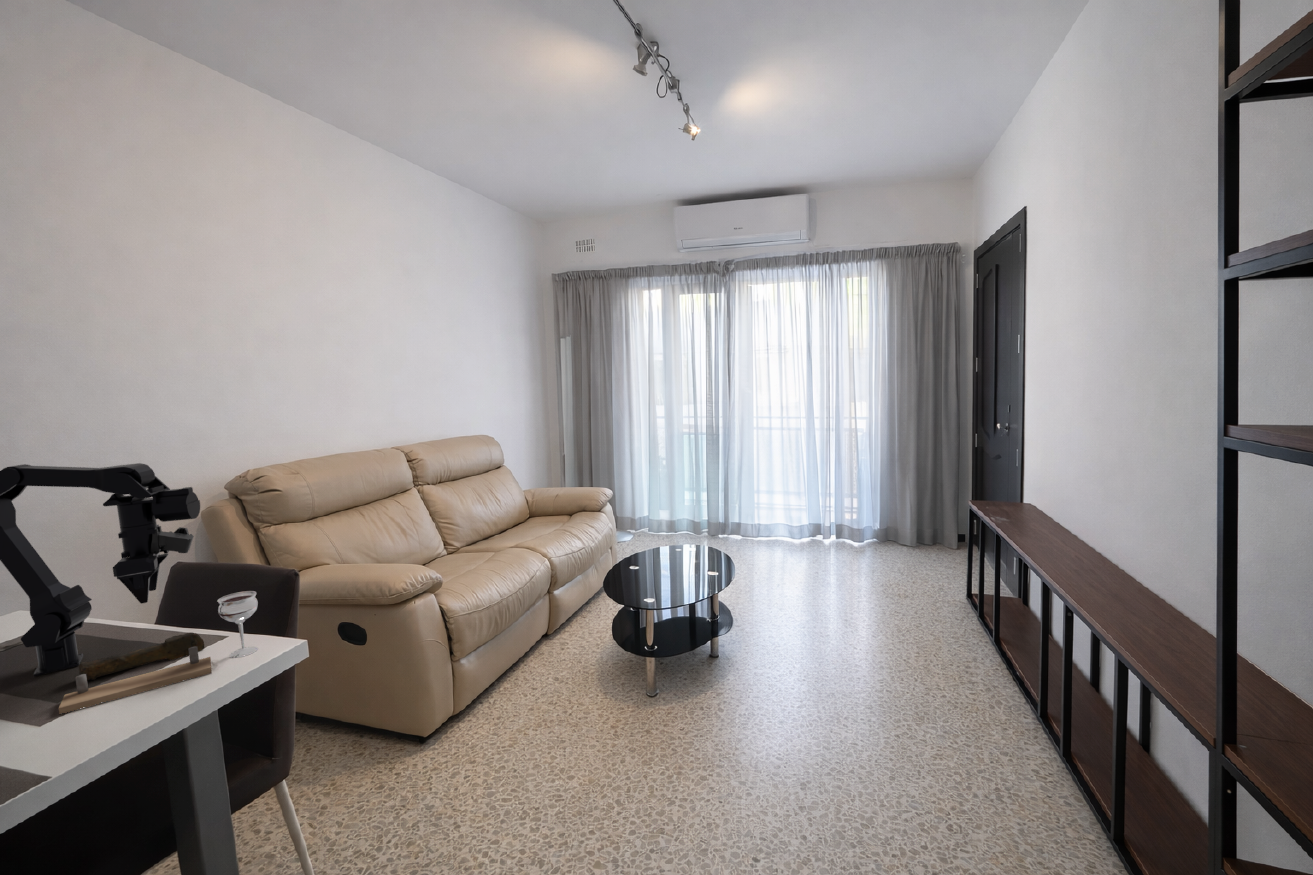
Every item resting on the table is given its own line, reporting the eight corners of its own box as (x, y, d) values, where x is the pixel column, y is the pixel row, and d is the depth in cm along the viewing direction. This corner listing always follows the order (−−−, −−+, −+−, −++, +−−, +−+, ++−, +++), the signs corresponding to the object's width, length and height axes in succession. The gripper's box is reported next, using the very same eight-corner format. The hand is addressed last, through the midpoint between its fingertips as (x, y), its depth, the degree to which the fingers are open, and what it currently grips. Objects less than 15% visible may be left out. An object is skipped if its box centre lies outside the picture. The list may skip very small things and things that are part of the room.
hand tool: (79, 686, 111) (76, 663, 110) (82, 679, 114) (79, 656, 114) (204, 655, 122) (202, 634, 122) (204, 649, 126) (202, 628, 125)
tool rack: (65, 700, 105) (62, 678, 105) (211, 662, 118) (208, 642, 118) (59, 714, 101) (56, 691, 100) (211, 673, 113) (209, 652, 113)
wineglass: (260, 654, 121) (253, 598, 120) (220, 662, 118) (213, 605, 117) (265, 641, 127) (259, 588, 126) (227, 649, 124) (221, 595, 123)
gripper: (180, 525, 118) (190, 599, 119) (193, 510, 134) (201, 576, 135) (107, 535, 112) (118, 613, 113) (129, 519, 128) (138, 587, 129)
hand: (148, 596), depth 123 cm, fingers open, 9 cm apart
